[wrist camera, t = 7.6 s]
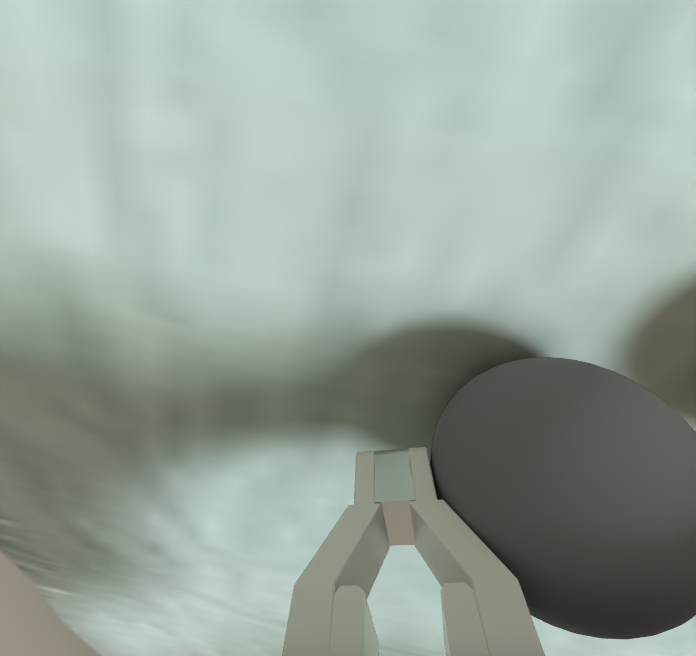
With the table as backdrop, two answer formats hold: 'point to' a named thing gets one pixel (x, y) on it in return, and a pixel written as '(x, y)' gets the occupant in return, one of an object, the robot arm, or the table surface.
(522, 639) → the robot arm
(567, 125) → the table surface
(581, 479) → the dark grey ball
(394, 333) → the table surface
